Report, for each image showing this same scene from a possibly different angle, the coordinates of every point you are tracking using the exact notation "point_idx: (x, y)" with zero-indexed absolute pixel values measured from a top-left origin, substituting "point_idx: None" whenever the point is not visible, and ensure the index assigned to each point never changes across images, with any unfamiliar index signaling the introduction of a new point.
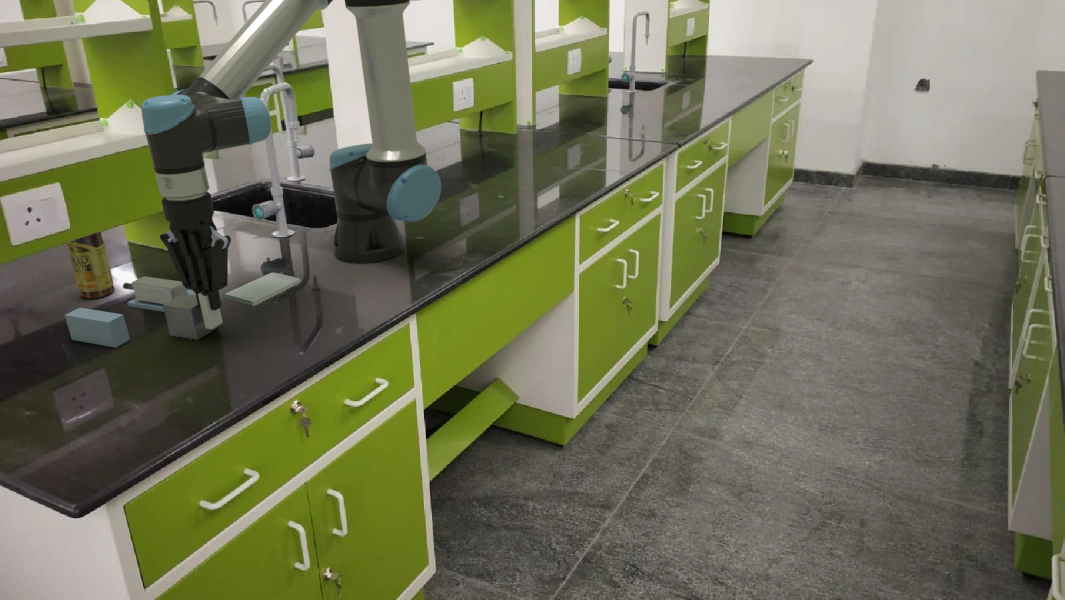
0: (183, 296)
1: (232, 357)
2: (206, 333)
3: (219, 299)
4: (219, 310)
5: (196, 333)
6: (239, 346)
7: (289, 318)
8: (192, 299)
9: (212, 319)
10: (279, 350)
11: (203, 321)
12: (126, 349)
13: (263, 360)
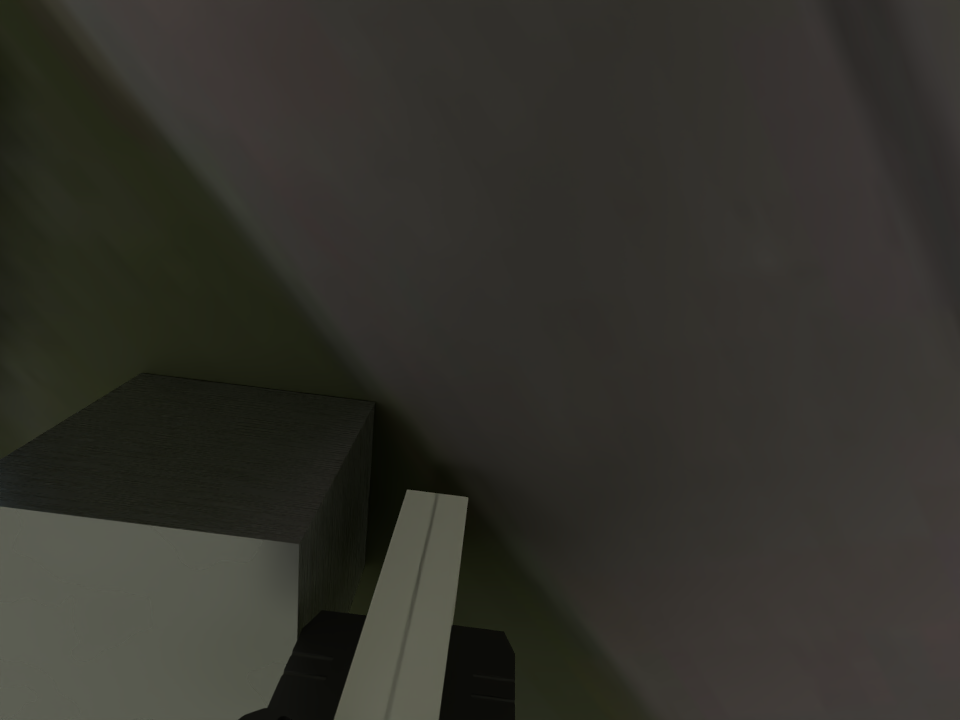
0: (1, 557)
1: (695, 700)
2: (366, 499)
3: (513, 715)
4: (458, 568)
5: (352, 594)
6: (671, 593)
7: (863, 152)
8: (149, 603)
9: (452, 623)
10: (954, 606)
11: (344, 560)
12: None
13: (895, 708)
